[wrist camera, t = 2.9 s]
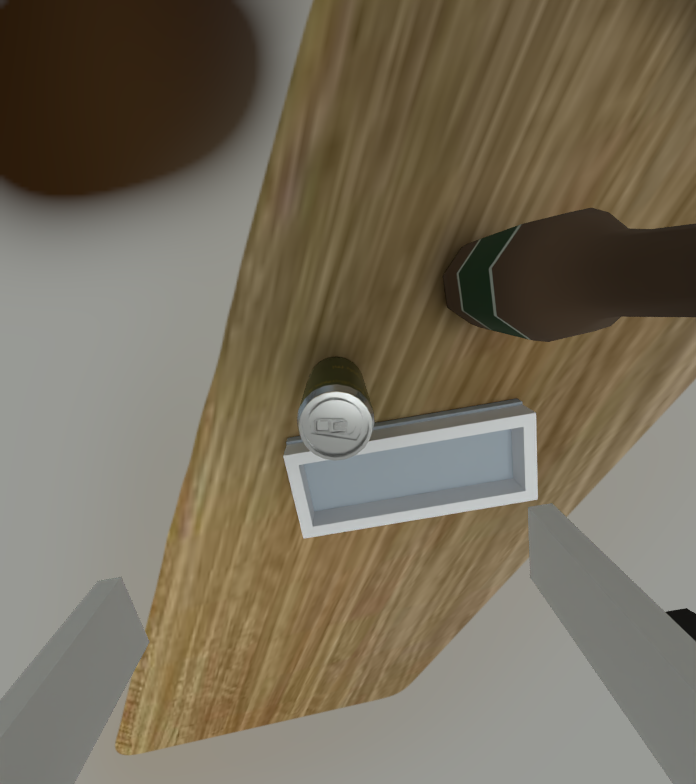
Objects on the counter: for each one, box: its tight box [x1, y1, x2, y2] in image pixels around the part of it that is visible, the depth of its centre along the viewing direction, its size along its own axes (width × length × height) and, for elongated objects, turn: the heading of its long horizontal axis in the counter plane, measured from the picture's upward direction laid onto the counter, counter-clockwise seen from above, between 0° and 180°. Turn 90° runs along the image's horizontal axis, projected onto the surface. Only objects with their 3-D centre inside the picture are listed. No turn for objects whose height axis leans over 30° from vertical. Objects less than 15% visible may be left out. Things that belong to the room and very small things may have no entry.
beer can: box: [297, 357, 375, 461], centre depth 29 cm, size 5×5×12 cm
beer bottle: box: [443, 208, 696, 342], centre depth 21 cm, size 8×8×24 cm
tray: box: [283, 399, 538, 538], centre depth 36 cm, size 10×24×4 cm, turn 100°
